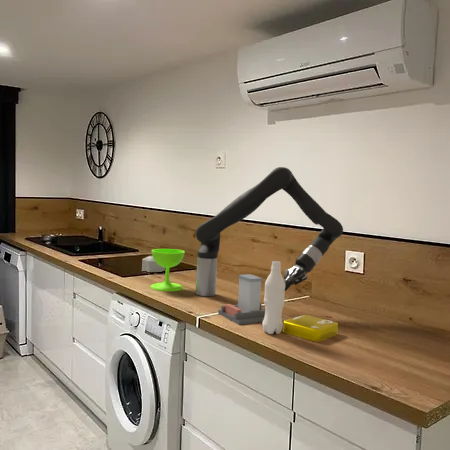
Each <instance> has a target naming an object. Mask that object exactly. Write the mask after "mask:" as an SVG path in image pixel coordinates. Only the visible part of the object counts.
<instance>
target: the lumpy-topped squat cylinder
mask: <svg viewBox="0 0 450 450" xmlns="http://www.w3.org/2000/svg"><path fill="white" fill-rule="evenodd" d="M141 262H142V263H141V264H142V265H141V272H142V271H147V272H162V271H165V270H166V267H162V266H160V265H159V264H157V263H156V262H155V260H154V259H153V256H152V255H148V256H146V257H144V258H142V261H141Z"/></svg>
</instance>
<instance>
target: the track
mask: <svg viewBox="0 0 450 450" xmlns="http://www.w3.org/2000/svg"><path fill="white" fill-rule="evenodd" d="M217 314H218V315H220V316H221V317H223V318H225V319H227V320H230V321H231V322H233V323H234V324H237V325H239V326H240V325H248V324H257V323H258V322H259V323H263V320H264V317H265V309H264V308H262V303H261V302H260V311H250V312H242V310H241V309H239V308H238V304H231V303H226V304H224V305H222V306H221V307H220V309H218V310H217Z"/></svg>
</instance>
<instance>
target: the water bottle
mask: <svg viewBox="0 0 450 450" xmlns="http://www.w3.org/2000/svg"><path fill="white" fill-rule="evenodd" d="M281 265H282V262H281V261H278V260H273V261H271V267H270V273H269V275H268V276H267V278H266V279H265V282H264V298H263V304H264V307H265V309H264V310H265V317H264V320H263V322H261V323H262V329H263V332H264V333H267V334H268V335H273V334H274V333H275V334H276V335H280V334H281V333H282V332H283V322H284V321H283V319H282V313H283V309H284V305H285V293H286V291H285V281H286V280H285V279H284V276H283V275H282V271H281V270H282V267H281Z"/></svg>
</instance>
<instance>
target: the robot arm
mask: <svg viewBox="0 0 450 450" xmlns="http://www.w3.org/2000/svg"><path fill="white" fill-rule="evenodd" d="M281 190H282V191H284V192H285V193H287V194H288V195H289V196H290V197H291V198H292V200H294V202H295V203H296V204H297V206H298V207H299V208H300V209H301V211H302V212H303V214H304V215H305V216H307V218H308V220H310V221H311V222H312V223H313V224H314V225H319V226H320V227H322V229H321V230H320V231H319V233H318V235H317V236H316V238H314V239H313V240H312V242H311V243H310V244H309V245H308V246H307V247H306V248H304V250H303V251H302V252H301V253H300V255H298V256H297V258H296V259H295V264H294V265H293V266H291V268H286V269H285V270H284V276H283V279H284V281H285V292H287V290H289V288H290V287H291V286H292V285H295V286H297V285H298V284H300V283H302V282H304V281H306V280H308V276H307V274H309V273H310V272H312V270H313V269H314V268H315V267H316V265H317V264H318V263H319V262H320V261H321V259H322V258H323V256H324V255H325V253H326V252H328V250H329V248H330V246H332V244H333V243H334V242H335V241H336V240H337V239H338V238H339V237H341V236H342V235H343V233H344V226H343V225H342V223H341V222H340V221H339V220H338V219H337V218H335V217H334V216H332V215H331V214H329V213H328V212H326V210H324V208H323V207H321V206H320V204H319V203H318V202H317V201H316V200H315V199H314V198H313V197H312V196H311V195H310V194H309V193H308V192H307V191H306V190H305V189H304V188H303V186H302V185H301V183H299V181H298V180H297V179H296V177H295V176H294V174H293V173H292V171H291V170H290V169H289V168H288V167H284V166H283V167H282V166H280V167H276V168H274V169H272V171H271V172H270V173H268V175H266V176H265V177H264V178H263V179H262V180H261V181H260V182H258V183H257V184H256V185H255V186H253V187H251V188H249V189H247V190H246V191H245V192H243V193H242V194H241V195H239V196H238V197H236V198H235V199H234V200H233V201H231V202H230V203H229V204H228V205H226V206H225V207H224V208H223V209H222V210H221V211H220V212H218V214H216V215H214V216H213V217H211V218H210V219H208V220H206V221H205V222H203V223H201V224H200V225H199V226H198V227H197V228H196V231H195V238H196V240H197V241H199V242H200V246H199V249H198V250H197V256H196V257H197V258H196V259H197V260H196V274H195V275H196V276H195V292H194V293H195V295H197V296H200V297H214V296H216V290H217V271H218V269H217V268H218V254H219V251H220V245H221V243H220V242H221V233H222V232H223V231H225V230H226V229H228V228H229V227H230V226H233V225H236V224H237V223H238V222H240V221H242V220H244V219H245V218H247V217H248V216H250V215H251V214H252V213H254V212H255V211H256V210H257V209H258V208H259V207H261V205H262V204H263V203H264V202H265V201H266V200H267V199H268V198H270V197H271V196H273V195H274V194H276V193H278V192H279V191H281Z"/></svg>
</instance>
